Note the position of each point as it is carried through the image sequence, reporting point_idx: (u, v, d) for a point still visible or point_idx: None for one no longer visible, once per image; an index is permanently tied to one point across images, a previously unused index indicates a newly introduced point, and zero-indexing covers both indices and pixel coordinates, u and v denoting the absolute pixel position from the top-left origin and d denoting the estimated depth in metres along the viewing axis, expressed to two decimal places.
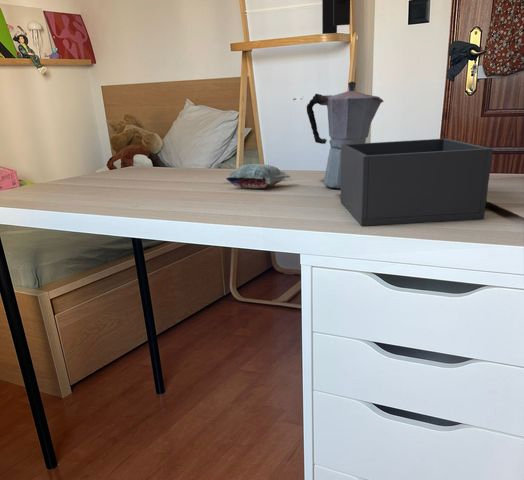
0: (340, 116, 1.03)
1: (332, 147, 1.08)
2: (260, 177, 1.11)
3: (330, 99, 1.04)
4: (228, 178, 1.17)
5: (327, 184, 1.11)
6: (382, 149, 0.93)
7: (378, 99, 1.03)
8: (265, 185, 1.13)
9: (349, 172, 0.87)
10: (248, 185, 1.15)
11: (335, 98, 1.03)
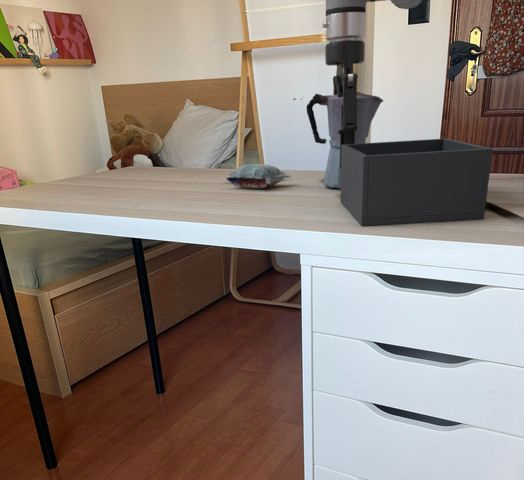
0: (340, 116, 1.03)
1: (332, 147, 1.08)
2: (260, 177, 1.11)
3: (330, 99, 1.04)
4: (228, 178, 1.17)
5: (327, 184, 1.11)
6: (382, 149, 0.93)
7: (378, 99, 1.03)
8: (265, 185, 1.13)
9: (349, 172, 0.87)
10: (248, 185, 1.15)
11: (335, 98, 1.03)
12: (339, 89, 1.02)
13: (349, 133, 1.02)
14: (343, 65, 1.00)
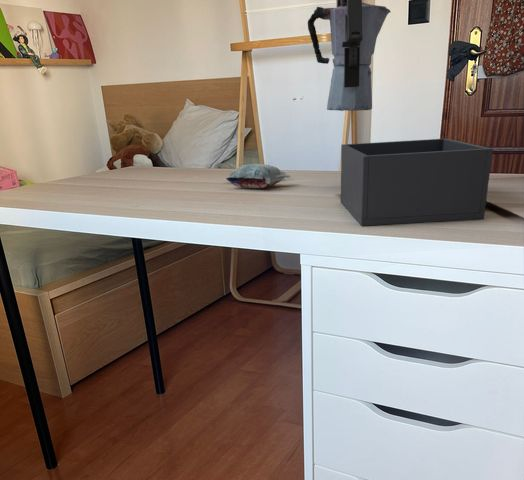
0: (344, 28, 0.96)
1: (335, 65, 1.01)
2: (260, 177, 1.11)
3: (333, 10, 0.96)
4: (228, 178, 1.17)
5: (330, 107, 1.03)
6: (382, 149, 0.93)
7: (385, 9, 0.96)
8: (265, 185, 1.13)
9: (349, 172, 0.87)
10: (248, 185, 1.15)
11: (338, 8, 0.95)
12: None
13: (354, 45, 0.95)
14: None
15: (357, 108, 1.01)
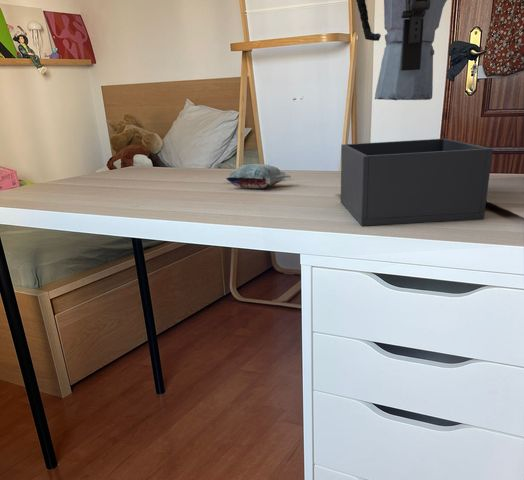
0: None
1: (389, 43, 0.80)
2: (260, 177, 1.11)
3: None
4: (228, 178, 1.17)
5: (381, 96, 0.82)
6: (382, 149, 0.93)
7: None
8: (265, 185, 1.13)
9: (349, 172, 0.87)
10: (248, 185, 1.15)
11: None
12: None
13: (417, 15, 0.74)
14: None
15: (416, 97, 0.80)
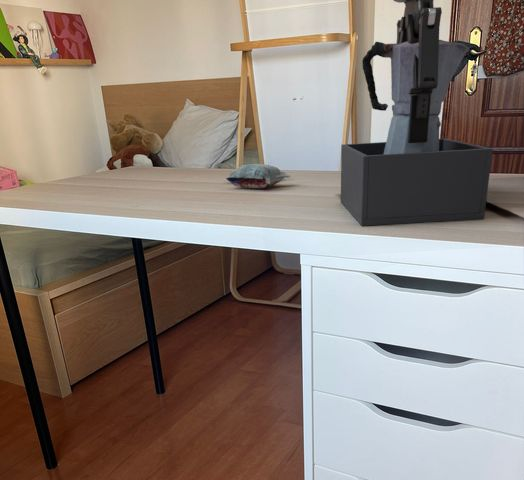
0: (412, 71, 0.76)
1: (396, 114, 0.81)
2: (260, 177, 1.11)
3: (397, 47, 0.77)
4: (228, 178, 1.17)
5: None
6: (382, 149, 0.93)
7: (463, 47, 0.76)
8: (265, 185, 1.13)
9: (349, 172, 0.87)
10: (248, 185, 1.15)
11: (405, 45, 0.75)
12: (412, 32, 0.75)
13: (425, 93, 0.75)
14: None
15: None
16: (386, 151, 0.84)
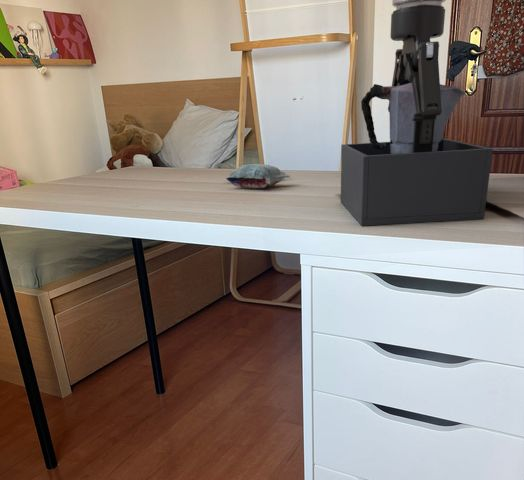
0: (409, 114, 0.79)
1: None
2: (260, 177, 1.11)
3: (395, 91, 0.79)
4: (228, 178, 1.17)
5: None
6: (382, 149, 0.93)
7: (459, 91, 0.78)
8: (265, 185, 1.13)
9: (349, 172, 0.87)
10: (248, 185, 1.15)
11: (403, 89, 0.78)
12: None
13: (429, 117, 0.74)
14: (417, 39, 0.74)
15: None
16: None
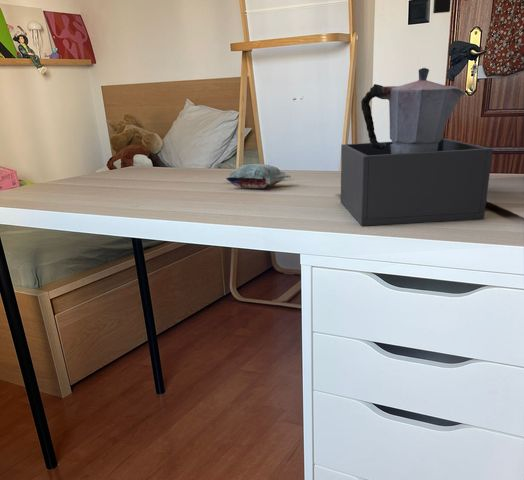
0: (409, 114, 0.79)
1: None
2: (260, 177, 1.11)
3: (395, 91, 0.79)
4: (228, 178, 1.17)
5: None
6: (382, 149, 0.93)
7: (459, 91, 0.78)
8: (265, 185, 1.13)
9: (349, 172, 0.87)
10: (248, 185, 1.15)
11: (403, 89, 0.78)
12: None
13: None
14: None
15: None
16: None
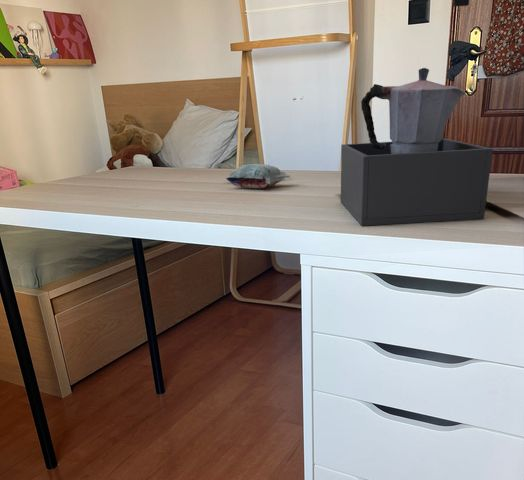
0: (409, 114, 0.79)
1: None
2: (260, 177, 1.11)
3: (395, 91, 0.79)
4: (228, 178, 1.17)
5: None
6: (382, 149, 0.93)
7: (459, 91, 0.78)
8: (265, 185, 1.13)
9: (349, 172, 0.87)
10: (248, 185, 1.15)
11: (403, 89, 0.78)
12: None
13: None
14: None
15: None
16: None
